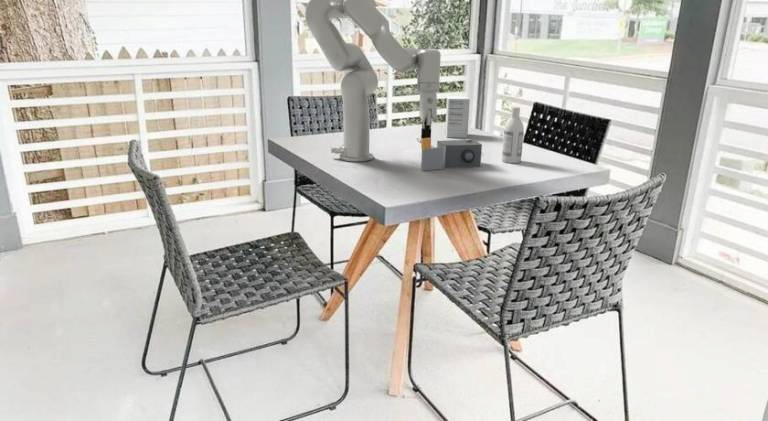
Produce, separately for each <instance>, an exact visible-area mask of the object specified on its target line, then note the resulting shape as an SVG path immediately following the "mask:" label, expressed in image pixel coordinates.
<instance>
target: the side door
mask: <svg viewBox="0 0 768 421" xmlns="http://www.w3.org/2000/svg"><path fill="white" fill-rule="evenodd" d="M421 140H422V143H420V144H421V145H420V146H421V147H420V148H421V163H420V164H421V167H420V168H421V169H420V170H421V172H424V171H432V170H433V171H434V170H445V169H446V168H445V154H446V146H442V147H436V148H431V145H432V137H431V138H422V139H421Z"/></svg>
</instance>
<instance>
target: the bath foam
mask: <svg viewBox="0 0 768 421" xmlns="http://www.w3.org/2000/svg"><path fill="white" fill-rule="evenodd" d="M510 113H511V114H510V118H509V119H508V120H507V121H506V123H505V125H504V129H503V130H504V131H503V139H502V140H503V141H502V154H501V156H502V157H501V160H502V162H503V163H506V164H519V163H521V162H522V154H523V144H524V142H523V141H524V125H523V122H522V120H521V118H520V113H521V107H520V106H512V107H511V112H510Z"/></svg>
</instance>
